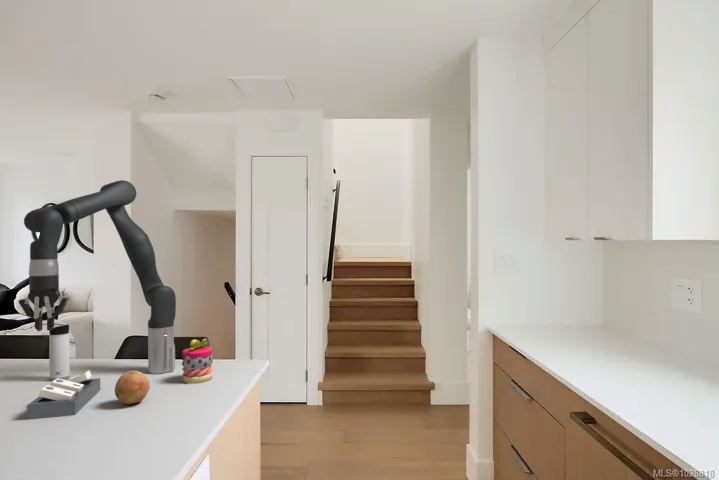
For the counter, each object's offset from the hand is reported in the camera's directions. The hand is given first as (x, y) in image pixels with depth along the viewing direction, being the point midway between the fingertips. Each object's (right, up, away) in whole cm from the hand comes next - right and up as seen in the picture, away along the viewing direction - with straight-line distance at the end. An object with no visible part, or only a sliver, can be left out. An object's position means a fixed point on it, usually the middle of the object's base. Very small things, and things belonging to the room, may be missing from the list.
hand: (44, 330), depth 141 cm
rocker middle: (+6, -18, +1) cm, 19 cm away
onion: (+27, -23, 0) cm, 35 cm away
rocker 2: (+4, -18, +8) cm, 20 cm away
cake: (+38, -23, +25) cm, 51 cm away
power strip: (+5, -23, +5) cm, 24 cm away
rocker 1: (+8, -18, -6) cm, 20 cm away
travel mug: (-14, -24, +29) cm, 40 cm away
